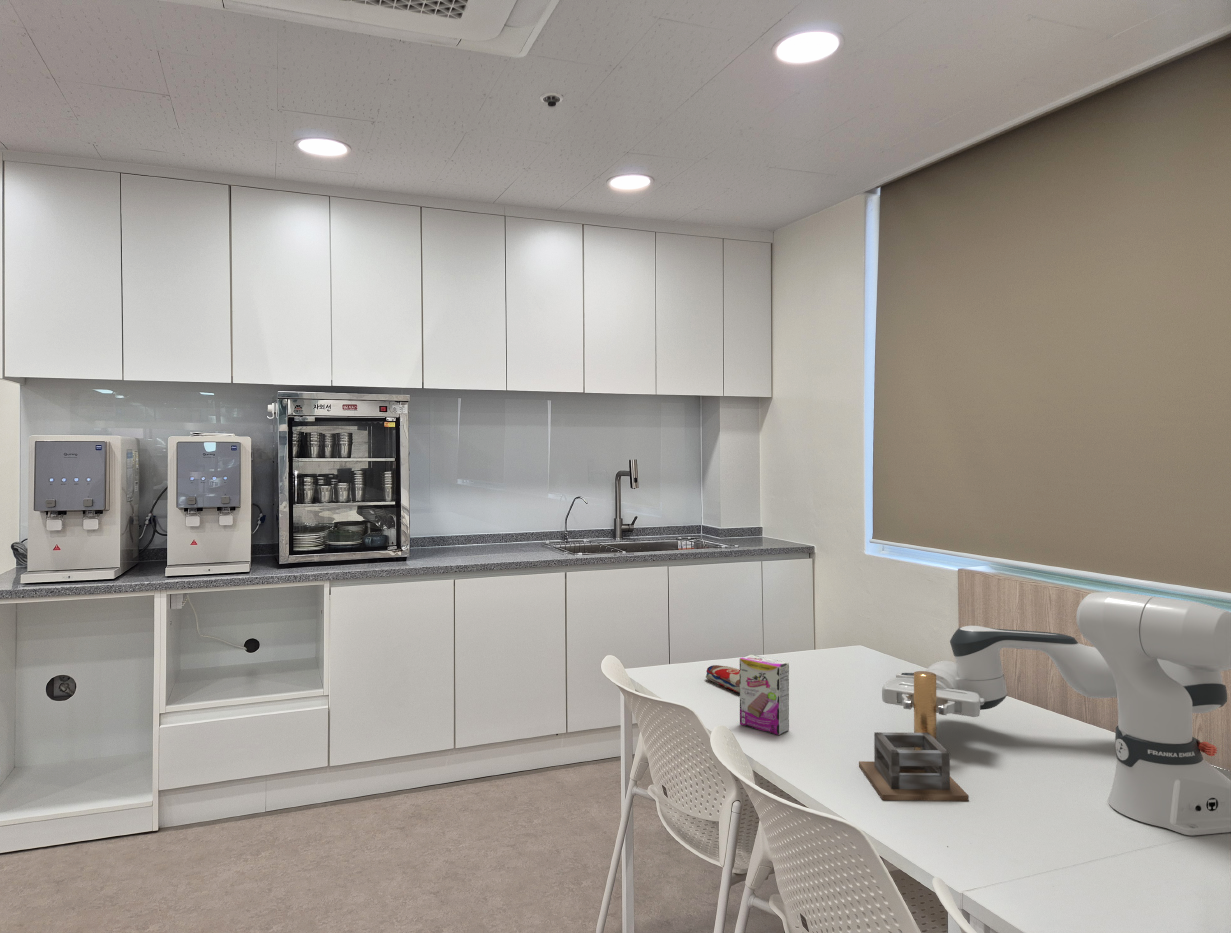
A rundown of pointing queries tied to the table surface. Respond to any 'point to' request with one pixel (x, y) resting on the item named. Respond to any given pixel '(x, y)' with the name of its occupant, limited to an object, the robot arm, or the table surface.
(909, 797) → the collar stand
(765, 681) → the candy bar box
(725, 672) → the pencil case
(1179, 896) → the table surface
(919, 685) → the copper tube
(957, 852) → the table surface
